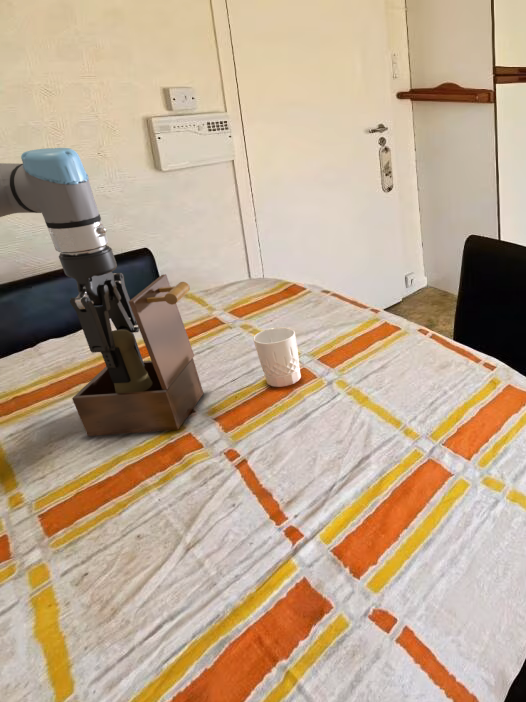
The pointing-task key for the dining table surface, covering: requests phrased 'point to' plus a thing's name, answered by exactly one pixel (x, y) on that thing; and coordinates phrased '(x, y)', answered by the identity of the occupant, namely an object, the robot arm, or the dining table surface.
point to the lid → (163, 328)
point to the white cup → (278, 356)
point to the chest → (137, 403)
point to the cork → (130, 364)
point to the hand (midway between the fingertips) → (129, 374)
